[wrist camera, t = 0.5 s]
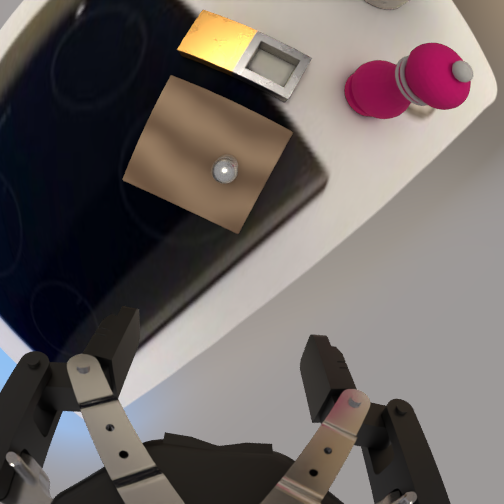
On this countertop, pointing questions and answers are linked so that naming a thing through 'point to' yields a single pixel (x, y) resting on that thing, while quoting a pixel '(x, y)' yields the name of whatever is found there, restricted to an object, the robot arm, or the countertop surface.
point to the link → (239, 52)
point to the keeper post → (225, 169)
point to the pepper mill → (410, 82)
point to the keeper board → (205, 153)
